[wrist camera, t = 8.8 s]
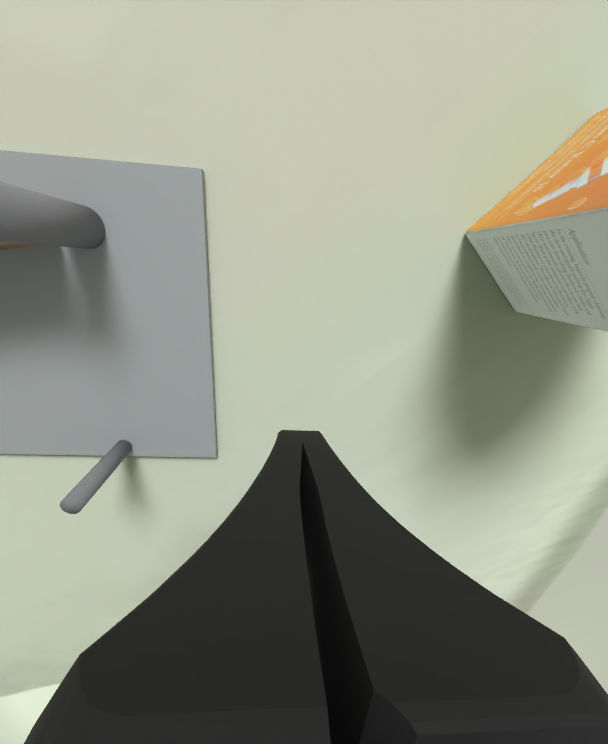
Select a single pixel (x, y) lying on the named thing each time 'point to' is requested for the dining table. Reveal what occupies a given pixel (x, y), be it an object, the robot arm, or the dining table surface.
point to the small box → (555, 234)
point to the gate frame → (104, 313)
